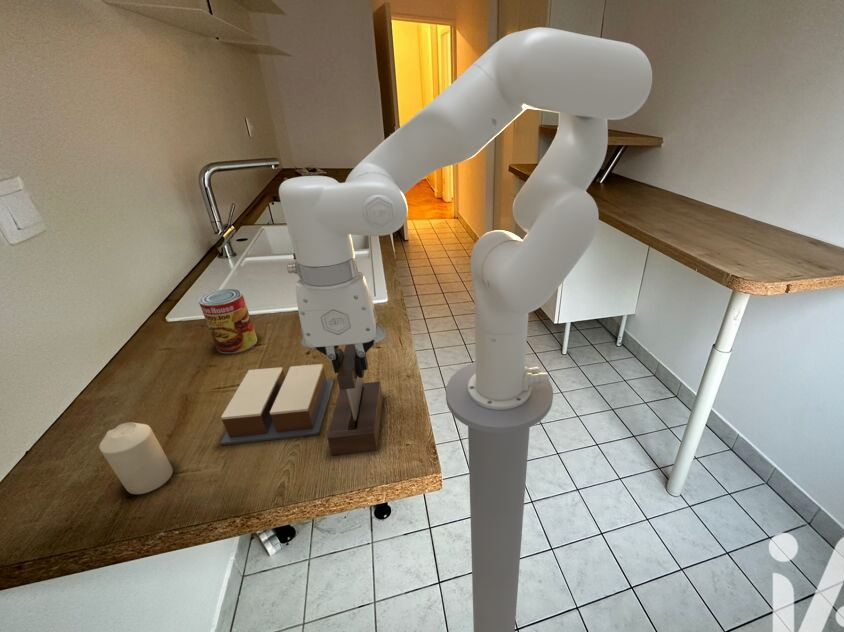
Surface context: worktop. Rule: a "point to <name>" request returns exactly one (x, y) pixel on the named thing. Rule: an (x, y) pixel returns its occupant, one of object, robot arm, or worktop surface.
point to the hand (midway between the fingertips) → (352, 373)
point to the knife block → (343, 424)
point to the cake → (277, 404)
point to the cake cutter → (350, 379)
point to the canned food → (228, 320)
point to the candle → (136, 457)
